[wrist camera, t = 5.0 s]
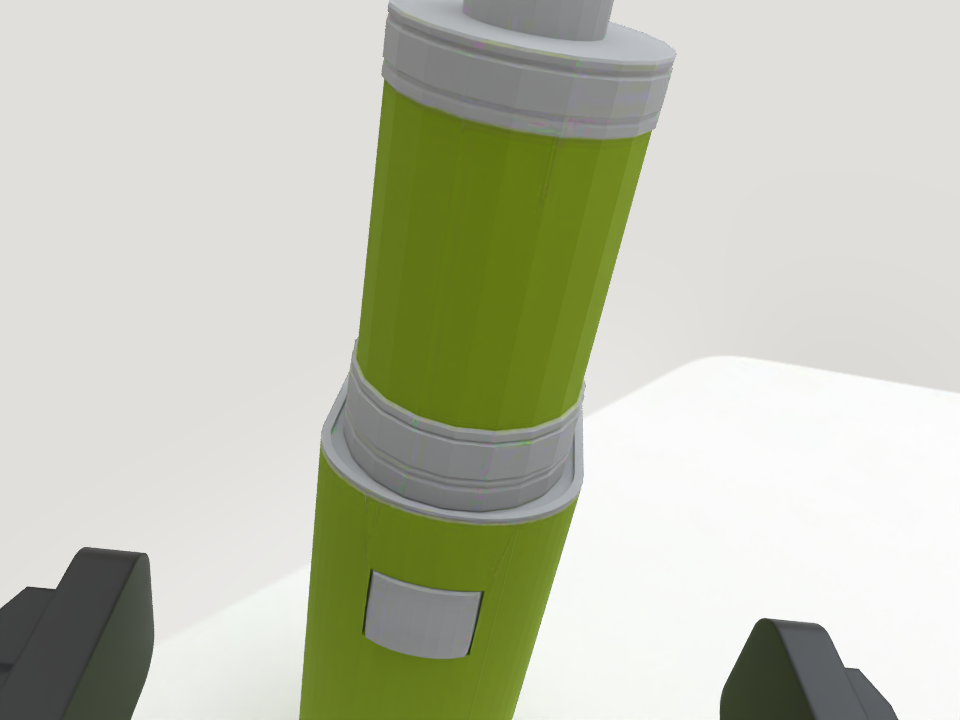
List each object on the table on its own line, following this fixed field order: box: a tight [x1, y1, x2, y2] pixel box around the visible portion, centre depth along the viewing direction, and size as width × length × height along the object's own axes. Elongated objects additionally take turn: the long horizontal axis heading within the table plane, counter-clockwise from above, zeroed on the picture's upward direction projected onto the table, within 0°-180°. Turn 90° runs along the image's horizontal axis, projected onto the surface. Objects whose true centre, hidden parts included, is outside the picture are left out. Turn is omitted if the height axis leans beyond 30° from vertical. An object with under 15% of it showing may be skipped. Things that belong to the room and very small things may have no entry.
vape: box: [299, 0, 676, 720], centre depth 14 cm, size 4×6×20 cm, turn 174°
